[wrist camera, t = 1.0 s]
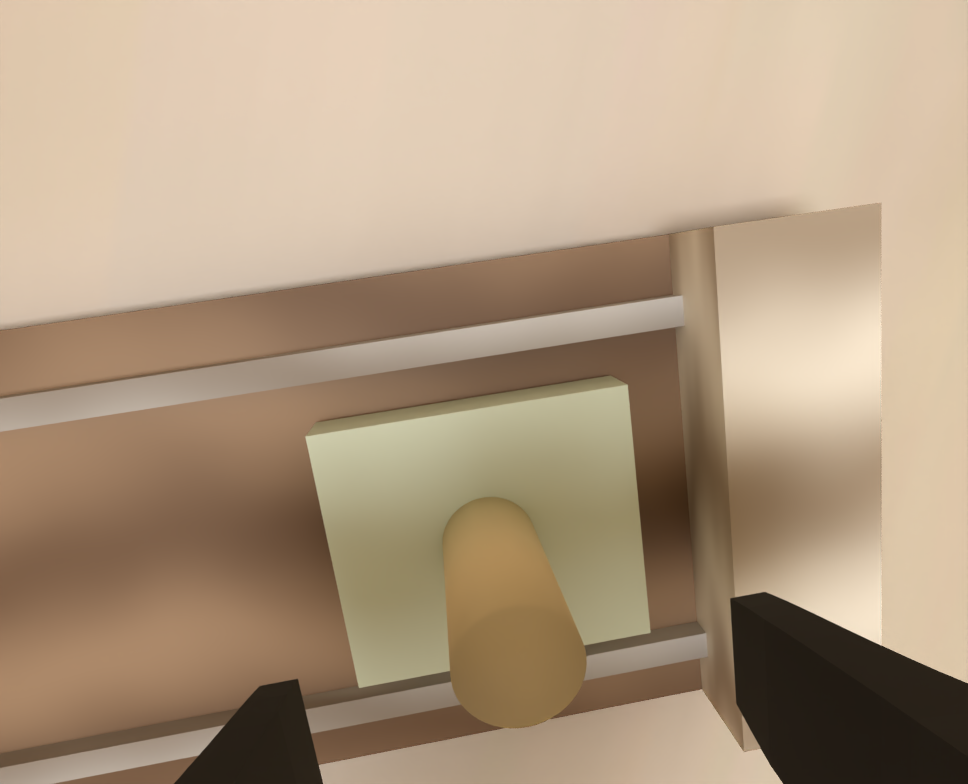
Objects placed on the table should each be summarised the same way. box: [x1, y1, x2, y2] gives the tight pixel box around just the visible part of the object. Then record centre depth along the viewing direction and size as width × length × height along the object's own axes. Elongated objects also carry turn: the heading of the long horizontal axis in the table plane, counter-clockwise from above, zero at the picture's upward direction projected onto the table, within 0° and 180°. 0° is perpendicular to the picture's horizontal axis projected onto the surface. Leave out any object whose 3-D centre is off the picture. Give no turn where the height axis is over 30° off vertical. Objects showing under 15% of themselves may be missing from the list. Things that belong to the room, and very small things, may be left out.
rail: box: [0, 203, 882, 784], centre depth 15 cm, size 14×32×4 cm, turn 98°
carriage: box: [305, 375, 651, 728], centre depth 13 cm, size 7×8×6 cm
